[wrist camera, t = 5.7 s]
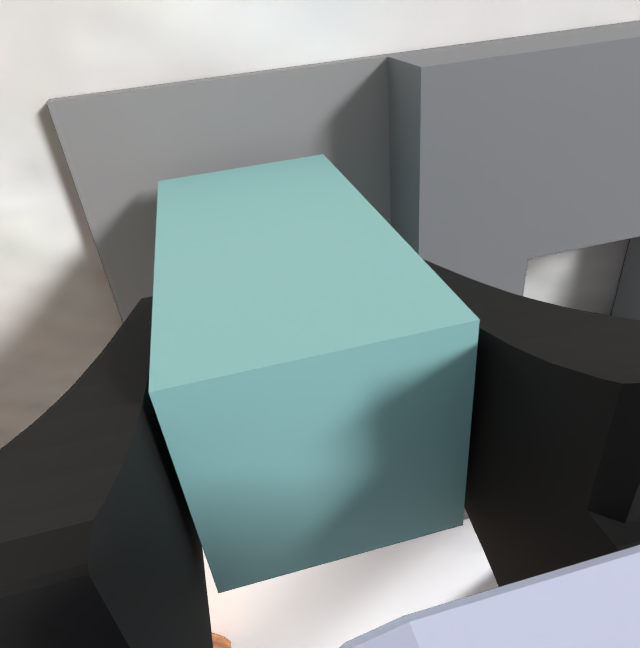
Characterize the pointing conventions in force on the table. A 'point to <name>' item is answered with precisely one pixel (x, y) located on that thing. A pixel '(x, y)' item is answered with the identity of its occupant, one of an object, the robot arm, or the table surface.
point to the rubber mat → (215, 146)
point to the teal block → (304, 370)
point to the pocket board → (519, 152)
